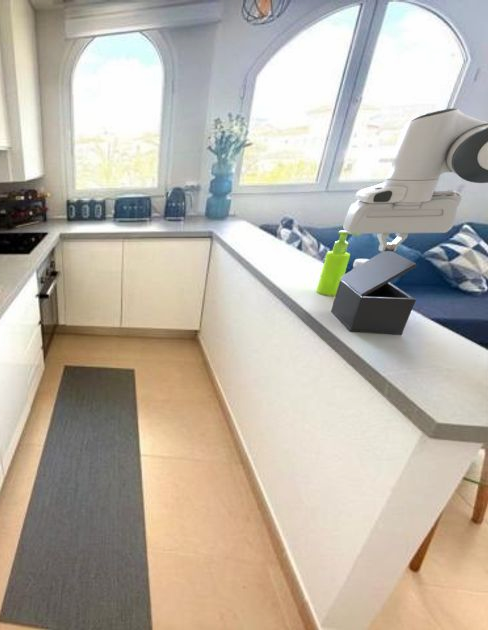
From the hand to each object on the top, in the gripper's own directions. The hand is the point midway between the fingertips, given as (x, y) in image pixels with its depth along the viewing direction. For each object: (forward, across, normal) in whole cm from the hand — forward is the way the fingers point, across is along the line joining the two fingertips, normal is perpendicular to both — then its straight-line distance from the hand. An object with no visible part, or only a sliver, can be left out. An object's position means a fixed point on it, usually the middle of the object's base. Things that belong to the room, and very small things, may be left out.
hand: (386, 250), depth 85 cm
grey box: (+20, 0, 0) cm, 20 cm away
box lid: (+6, +1, 0) cm, 6 cm away
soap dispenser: (+20, +1, -21) cm, 29 cm away
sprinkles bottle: (+20, -2, -13) cm, 24 cm away
